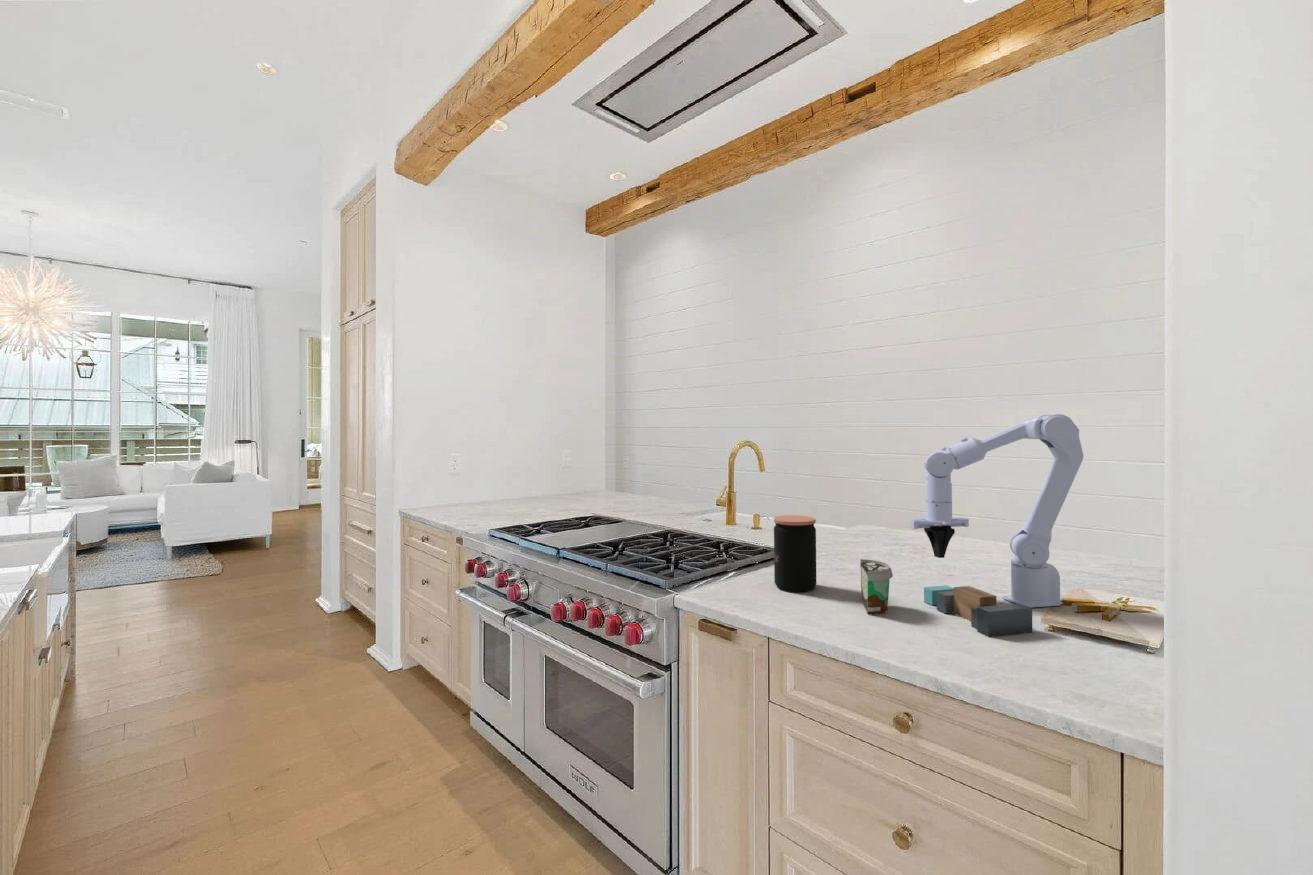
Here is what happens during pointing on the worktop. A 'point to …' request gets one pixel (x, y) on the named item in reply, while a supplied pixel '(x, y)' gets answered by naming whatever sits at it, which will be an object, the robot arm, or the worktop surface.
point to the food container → (875, 586)
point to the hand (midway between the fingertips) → (939, 556)
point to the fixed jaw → (1002, 619)
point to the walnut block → (971, 600)
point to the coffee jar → (795, 553)
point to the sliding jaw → (940, 598)
